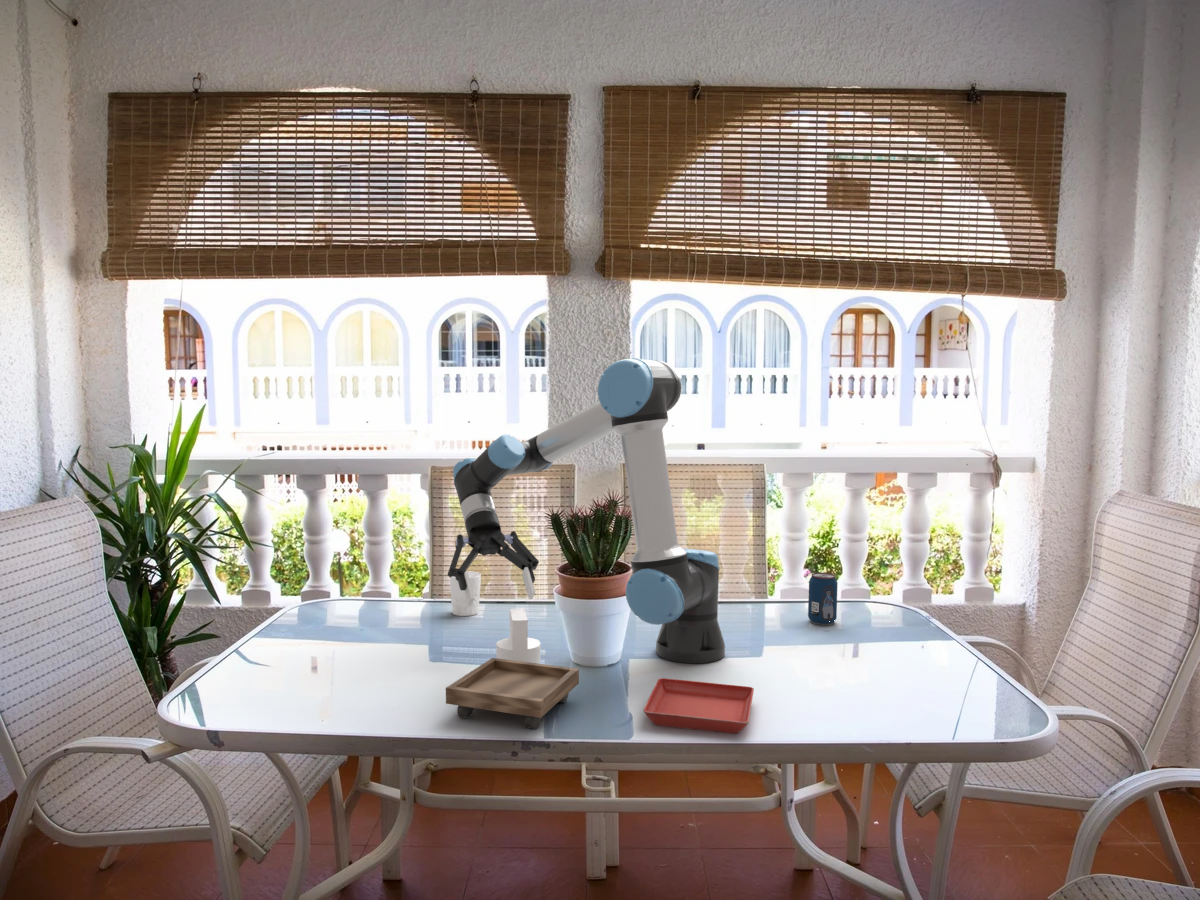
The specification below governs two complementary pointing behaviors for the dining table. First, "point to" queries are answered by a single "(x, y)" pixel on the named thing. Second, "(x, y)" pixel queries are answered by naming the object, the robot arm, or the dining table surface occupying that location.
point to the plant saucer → (699, 705)
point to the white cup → (460, 599)
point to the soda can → (822, 599)
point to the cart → (513, 689)
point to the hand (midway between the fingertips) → (502, 599)
